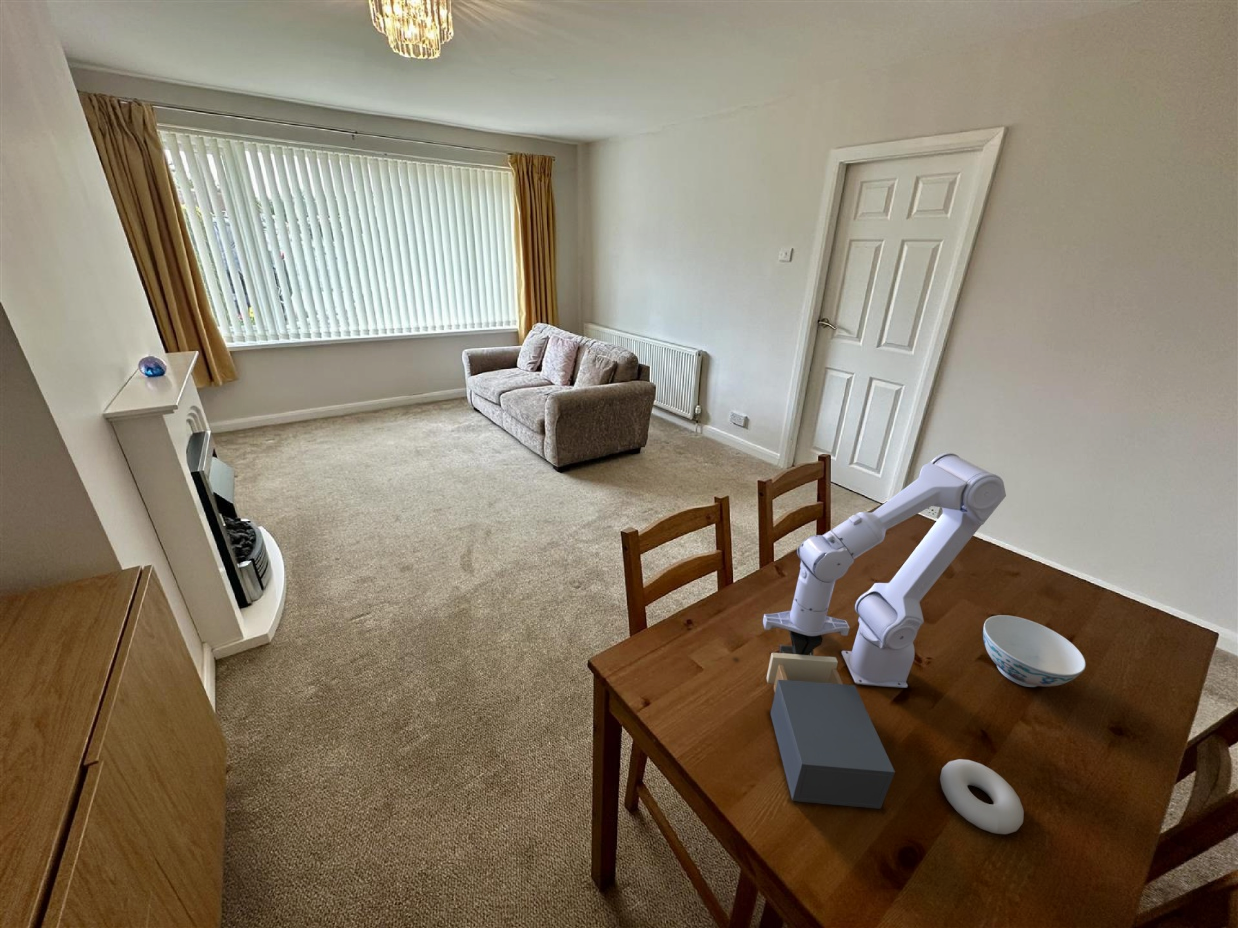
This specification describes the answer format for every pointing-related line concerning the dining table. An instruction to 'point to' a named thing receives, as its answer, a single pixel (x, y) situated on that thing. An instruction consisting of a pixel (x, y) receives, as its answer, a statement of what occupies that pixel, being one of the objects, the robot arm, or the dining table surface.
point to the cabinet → (829, 745)
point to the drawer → (802, 667)
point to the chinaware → (1031, 652)
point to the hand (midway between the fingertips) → (796, 659)
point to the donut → (988, 817)
